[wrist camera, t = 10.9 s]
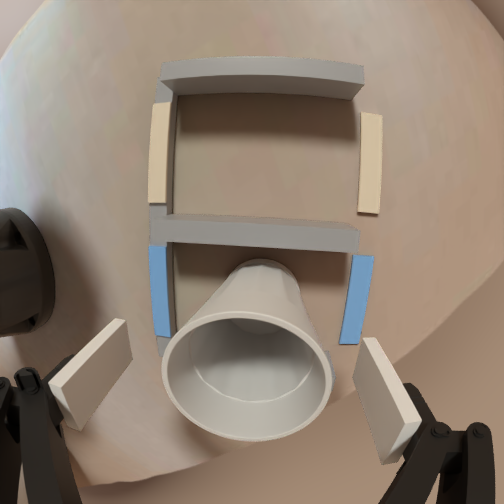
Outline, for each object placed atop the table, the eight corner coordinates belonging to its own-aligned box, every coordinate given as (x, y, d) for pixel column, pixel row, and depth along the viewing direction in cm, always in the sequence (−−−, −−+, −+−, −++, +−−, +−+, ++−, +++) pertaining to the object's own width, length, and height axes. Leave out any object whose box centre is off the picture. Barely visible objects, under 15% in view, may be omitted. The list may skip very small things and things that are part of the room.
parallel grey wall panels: (163, 349, 26) (147, 372, 22) (163, 81, 20) (143, 65, 17) (352, 364, 25) (361, 390, 21) (379, 89, 19) (397, 72, 15)
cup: (320, 323, 24) (344, 424, 12) (233, 346, 25) (202, 447, 13) (294, 235, 22) (308, 287, 11) (200, 265, 24) (133, 333, 12)
